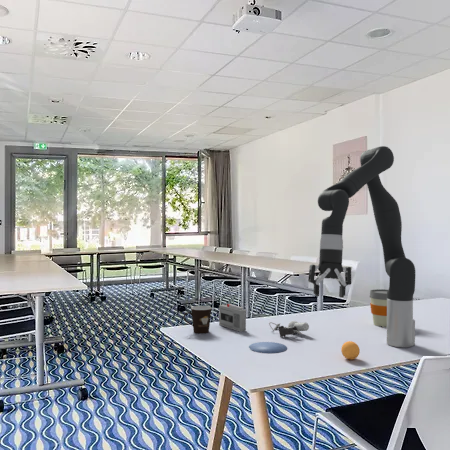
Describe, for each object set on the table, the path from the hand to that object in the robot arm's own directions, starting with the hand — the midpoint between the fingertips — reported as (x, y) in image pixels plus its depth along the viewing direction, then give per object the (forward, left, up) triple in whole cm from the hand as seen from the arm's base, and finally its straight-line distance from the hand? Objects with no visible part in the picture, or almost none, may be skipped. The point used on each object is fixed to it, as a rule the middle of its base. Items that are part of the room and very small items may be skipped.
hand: (329, 296), depth 153 cm
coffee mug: (+32, -51, -22) cm, 64 cm away
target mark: (+14, -20, -21) cm, 32 cm away
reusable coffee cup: (-51, -38, -22) cm, 67 cm away
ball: (-8, +1, -18) cm, 20 cm away
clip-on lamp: (-2, -37, -22) cm, 43 cm away
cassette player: (+16, -53, -22) cm, 59 cm away
